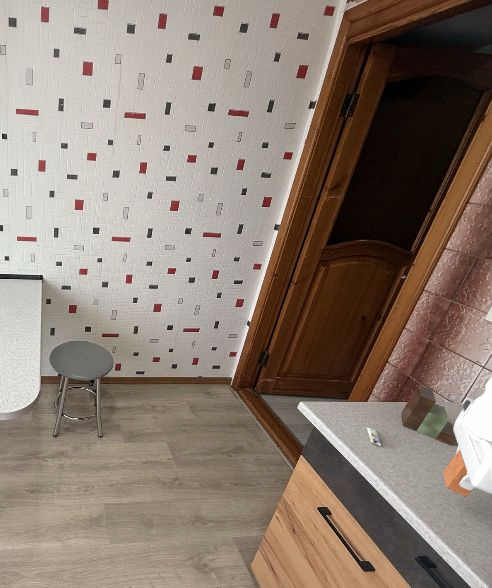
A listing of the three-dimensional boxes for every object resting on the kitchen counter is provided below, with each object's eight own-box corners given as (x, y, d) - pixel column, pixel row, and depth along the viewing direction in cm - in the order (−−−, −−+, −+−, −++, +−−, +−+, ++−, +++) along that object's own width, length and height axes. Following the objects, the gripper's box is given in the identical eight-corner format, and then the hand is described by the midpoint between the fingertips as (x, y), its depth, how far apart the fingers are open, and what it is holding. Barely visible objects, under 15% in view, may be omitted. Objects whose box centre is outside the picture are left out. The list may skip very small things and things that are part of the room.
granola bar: (365, 427, 94) (366, 425, 94) (375, 431, 93) (376, 428, 93) (370, 444, 89) (372, 441, 89) (381, 448, 88) (382, 445, 88)
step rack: (446, 430, 96) (467, 401, 91) (450, 445, 91) (472, 414, 86) (400, 413, 101) (418, 384, 97) (402, 425, 96) (421, 396, 92)
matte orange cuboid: (461, 480, 72) (479, 457, 69) (466, 497, 68) (485, 473, 66) (442, 472, 74) (459, 449, 71) (446, 487, 70) (464, 464, 67)
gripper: (544, 471, 55) (496, 523, 61) (506, 407, 70) (471, 454, 76) (488, 450, 59) (448, 501, 64) (464, 393, 74) (433, 439, 79)
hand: (460, 475), depth 70 cm, fingers closed on matte orange cuboid, 5 cm apart
